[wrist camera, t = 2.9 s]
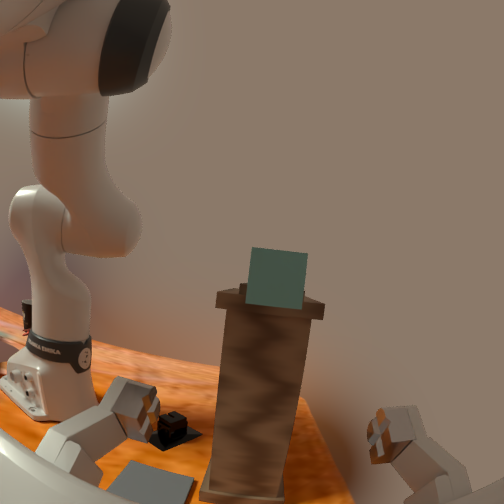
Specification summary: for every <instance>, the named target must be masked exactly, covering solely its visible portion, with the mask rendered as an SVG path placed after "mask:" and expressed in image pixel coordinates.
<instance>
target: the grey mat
mask: <svg viewBox="0 0 504 504" xmlns="http://www.w3.org/2000/svg"><path fill="white" fill-rule="evenodd" d="M193 482H194V478H193V477H188V476H184V475H180V474H176V473H172V472H168V471H165V470H161V469H158V468H154V467H151V466H148V465H144V464H141V463H138V462H135V461H132V460H131V461H130V462H129V464H128V465H127V466H126V467H125V469H124V470H123V471H122V472H121V473H120V475H119V476H118V477H117V478H116V479H115V481H114V482H113V483H112V484H111V485H110V486H109V488H108V489H107V490H106V491H108V492H110V493H112V494H115V495H117V496H120V497H122V498H125V499H128V500H131V501H133V502H136V503H139V504H185V501H186V499H187V497H188V494H189V492H190V489H191V487H192V484H193Z"/></svg>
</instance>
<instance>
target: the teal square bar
mask: <svg viewBox="0 0 504 504" xmlns="http://www.w3.org/2000/svg"><path fill="white" fill-rule="evenodd" d="M307 256H308V254H307V253H299V252H290V251H281V250H272V249H264V248H254V247H252V252H251V260H250V268H249V277H248V285H247V293H246V301H245V303H247V304H256V305H264V306H273V307H282V308H291V309H302V302H303V293H304V284H305V276H306V266H307Z"/></svg>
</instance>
